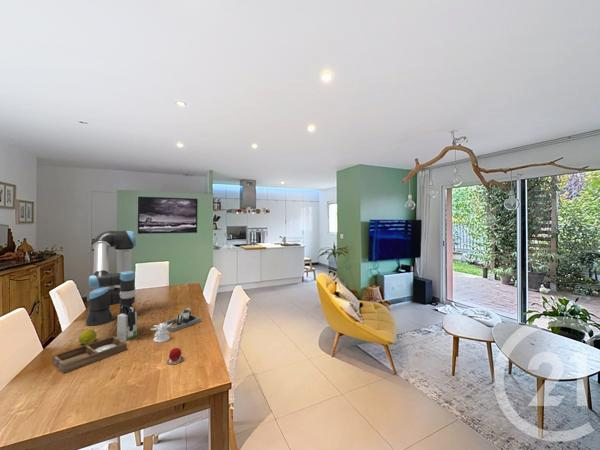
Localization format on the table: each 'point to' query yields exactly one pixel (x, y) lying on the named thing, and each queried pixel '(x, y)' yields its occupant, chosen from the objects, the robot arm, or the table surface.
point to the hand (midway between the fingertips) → (126, 334)
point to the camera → (184, 316)
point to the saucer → (104, 347)
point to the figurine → (161, 332)
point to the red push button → (175, 356)
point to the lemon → (87, 337)
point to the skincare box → (125, 327)
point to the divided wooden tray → (87, 354)
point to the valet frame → (172, 329)
